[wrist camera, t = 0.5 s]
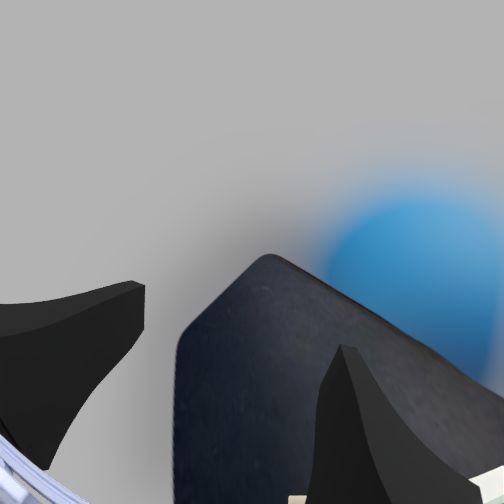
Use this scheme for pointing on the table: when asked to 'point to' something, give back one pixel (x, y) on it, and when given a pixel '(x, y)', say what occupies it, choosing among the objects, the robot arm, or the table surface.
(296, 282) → the table surface
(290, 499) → the block stack
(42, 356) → the robot arm
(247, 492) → the table surface
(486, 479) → the collar board
